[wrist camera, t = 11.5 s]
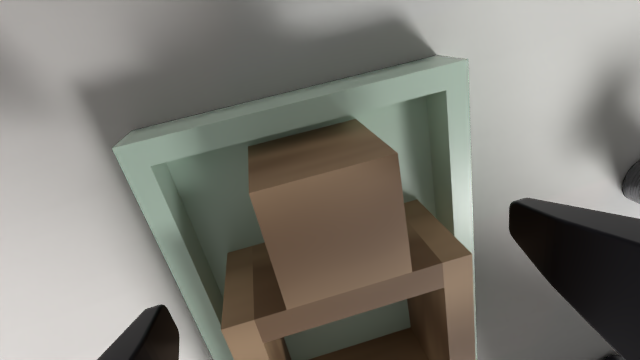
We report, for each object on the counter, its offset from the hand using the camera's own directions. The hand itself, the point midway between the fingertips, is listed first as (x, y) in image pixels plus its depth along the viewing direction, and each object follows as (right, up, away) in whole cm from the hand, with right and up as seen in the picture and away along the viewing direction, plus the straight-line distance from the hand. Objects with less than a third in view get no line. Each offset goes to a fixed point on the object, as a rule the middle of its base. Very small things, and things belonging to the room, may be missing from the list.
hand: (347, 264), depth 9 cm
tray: (0, -1, +7) cm, 7 cm away
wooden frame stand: (0, -1, +6) cm, 7 cm away
